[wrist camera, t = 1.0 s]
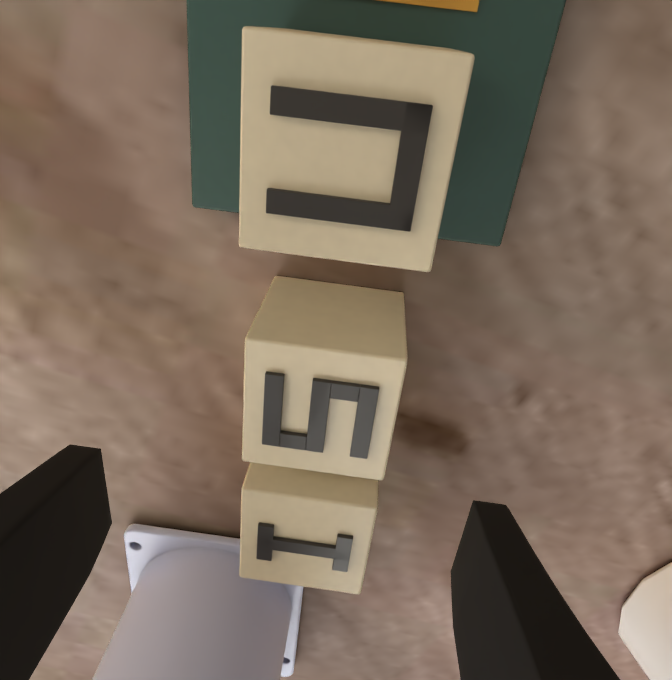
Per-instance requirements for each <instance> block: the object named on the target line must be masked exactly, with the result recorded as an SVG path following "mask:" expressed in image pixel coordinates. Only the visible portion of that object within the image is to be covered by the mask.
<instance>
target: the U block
mask: <svg viewBox="0 0 672 680" xmlns="http://www.w3.org/2000/svg"><path fill="white" fill-rule="evenodd" d="M474 60H475V57H474V55H473V54H472V53H468V52H464V51H459V50H455V49H451V48H443V47H435V46H427V45H418V44H410V43H402V42H393V41H385V40H377V39H369V38H360V37H352V36H344V35H336V34H327V33H319V32H311V31H302V30H294V29H286V28H271V27H255V26H245V27H243V29H242V66H241V130H240V195H239V246H240V247H241V248H248V249H255V250H263V251H271V252H278V253H286V254H293V255H301V256H309V257H316V258H324V259H332V260H339V261H347V262H355V263H362V264H370V265H377V266H385V267H393V268H400V269H408V270H416V271H423V272H430V270H431V268H432V263H433V258H434V253H435V249H436V244H437V239H438V234H439V229H440V224H441V219H442V215H443V210H444V205H445V200H446V195H447V190H448V186H449V181H450V176H451V171H452V166H453V161H454V157H455V152H456V147H457V142H458V137H459V132H460V127H461V123H462V118H463V113H464V108H465V103H466V98H467V94H468V89H469V84H470V79H471V74H472V69H473V64H474Z"/></svg>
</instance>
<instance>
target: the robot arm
mask: <svg viewBox="0 0 672 680" xmlns="http://www.w3.org/2000/svg"><path fill="white" fill-rule="evenodd" d="M111 524H112V520H111V514H110V507H109V501H108V494H107V487H106V481H105V474H104V467H103V461H102V454H101V449H98V448H91V447H84V446H77V445H69V446H67V447H66V448H64V449H63V450H61V451H60V452H58V453H57V454H56V455H54V456H53V457H51V458H50V459H48V460H47V461H46V462H44V463H43V464H41V465H40V466H39V467H37V468H36V469H34V470H33V471H32V472H30V473H29V474H27V475H26V476H25V477H23V478H22V479H20V480H19V481H18V482H16V483H15V484H13V485H12V486H11V487H9V488H8V489H6V490H5V491H3V492H2V493H1V494H0V680H29V679H30V677H31V675H32V673H33V672H34V670H35V668H36V667H37V665H38V663H39V661H40V660H41V658H42V656H43V655H44V653H45V651H46V649H47V648H48V646H49V644H50V643H51V641H52V639H53V637H54V636H55V634H56V632H57V630H58V629H59V627H60V625H61V624H62V622H63V620H64V618H65V617H66V615H67V613H68V612H69V610H70V608H71V606H72V605H73V603H74V601H75V599H76V598H77V596H78V594H79V592H80V591H81V589H82V587H83V585H84V584H85V582H86V580H87V578H88V576H89V575H90V573H91V570H92V568H93V566H94V564H95V562H96V559H97V557H98V555H99V553H100V550H101V548H102V546H103V543H104V541H105V538H106V536H107V534H108V531H109V529H110V526H111ZM124 541H125V549H126V556H127V564H128V571H129V579H130V586H131V596H130V599H129V601H128V603H127V605H126V607H125V609H124V612H123V614H122V616H121V618H120V620H119V622H118V624H117V627H116V629H115V631H114V633H113V635H112V637H111V640H110V642H109V644H108V646H107V648H106V650H105V653H104V655H103V657H102V659H101V661H100V663H99V666H98V668H97V670H96V672H95V674H94V676H93V679H92V680H280V677H281V676H282V677H288V676H290V675H292V674H293V672H294V665H295V656H296V648H297V639H298V631H299V622H300V614H301V605H302V596H303V588H304V587H303V586H297V585H290V584H283V583H276V582H269V581H262V580H255V579H249V578H242V577H240V575H239V568H240V539H239V538H232V537H225V536H218V535H211V534H204V533H197V532H190V531H183V530H176V529H169V528H162V527H155V526H148V525H141V524H131V525H129V526H128V527H127V529H126V531H125V532H124ZM451 589H452V613H453V629H454V636H455V643H456V650H457V656H458V663H459V670H460V677H461V680H620V679H619V677H618V676H617V675H616V673H615V672H614V671H613V669H612V668H611V666H610V665H609V664H608V662H607V661H606V660H605V658H604V657H603V655H602V654H601V653H600V651H599V650H598V648H597V647H596V646H595V644H594V643H593V641H592V640H591V639H590V637H589V636H588V634H587V633H586V631H585V630H584V628H583V627H582V626H581V624H580V623H579V621H578V620H577V618H576V617H575V615H574V614H573V612H572V611H571V609H570V608H569V606H568V604H567V603H566V601H565V600H564V598H563V597H562V595H561V594H560V592H559V591H558V589H557V588H556V586H555V585H554V583H553V581H552V580H551V578H550V577H549V575H548V574H547V572H546V570H545V569H544V567H543V565H542V564H541V562H540V561H539V559H538V557H537V556H536V554H535V552H534V551H533V549H532V547H531V546H530V544H529V542H528V541H527V539H526V537H525V536H524V534H523V532H522V531H521V529H520V527H519V525H518V524H517V522H516V520H515V519H514V517H513V515H512V513H511V512H510V510H509V509H508V507H507V506H506V505H503V504H495V503H488V502H481V501H474V500H473V503H472V506H471V509H470V512H469V516H468V519H467V522H466V525H465V528H464V531H463V535H462V538H461V541H460V544H459V547H458V550H457V553H456V557H455V560H454V563H453V566H452V569H451Z"/></svg>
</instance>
